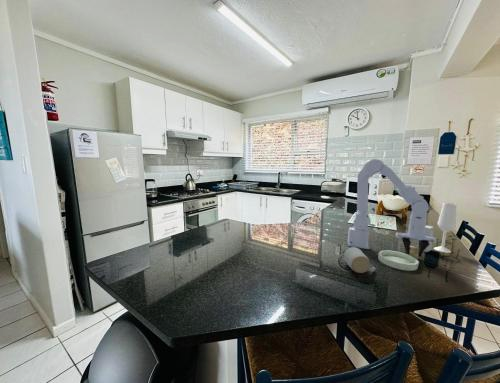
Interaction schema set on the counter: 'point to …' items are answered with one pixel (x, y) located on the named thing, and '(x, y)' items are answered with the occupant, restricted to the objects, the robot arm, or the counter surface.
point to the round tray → (398, 260)
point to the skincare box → (429, 233)
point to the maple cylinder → (414, 251)
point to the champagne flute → (446, 223)
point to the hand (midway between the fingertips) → (412, 255)
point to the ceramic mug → (357, 260)
